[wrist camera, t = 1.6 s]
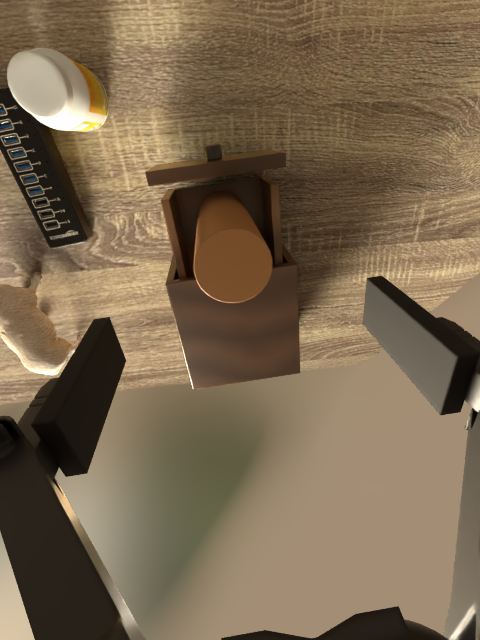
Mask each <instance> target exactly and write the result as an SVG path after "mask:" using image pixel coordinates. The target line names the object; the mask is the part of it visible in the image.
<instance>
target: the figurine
mask: <svg viewBox="0 0 480 640" xmlns="http://www.w3.org/2000/svg"><path fill="white" fill-rule="evenodd" d="M41 279H42V275H41V274H40V273H38V272H36V273H34V274H33V275H32V281H31V285H30V286H29V287H28V288H23V287H13V286H10V285H5V284H2V285H0V334H1V338H2V339H3V340H4V342H5V343H6V344H7V345H8V347H9V348H11V349H12V350H13V351H14V352H15V353H16V354H17V355H18V357H19V358H20V360H21V362H22V363H23V365H24V366H25V367H26V368H28V369H29V370H31V371H32V372H36V373H40V374H47V375H56V374H58V373H59V372H60V369H61V367H62V366H63V365H64V364H65V363H66V361H67V360H68V357H69V356H70V355H71V354H72V353H74V352H75V350H76V348H77V347H78V345H79V343H80V342H81V338H80V335H78V336H77V340H76V343H75V344H73V345H72V344H71V343H70V342H69V341H67V340H65V339H63V338H58V337H57V336H56V330H55V327H54V324H53V323H52V321H51V320H50V319H49V318H48V317H47V316H46V315H45V314H44V313H43V312H42V311H41V310H39V309H38V308H37V306H36V304H37V299H38V298H37V296H36V294H35V293H36V291H37V288H38V287H39V285H40V284H41V281H40V280H41Z"/></svg>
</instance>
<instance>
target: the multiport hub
mask: <svg viewBox="0 0 480 640" xmlns="http://www.w3.org/2000/svg"><path fill="white" fill-rule="evenodd" d="M0 150H1V152H2V154H3V156H4V158H5V160H6V162H7V164H8V166H9V168H10V170H11V172H12V174H13V176H14V178H15V180H16V182H17V184H18V186H19V188H20V190H21V192H22V194H23V196H24V198H25V200H26V202H27V204H28V206H29V208H30V210H31V212H32V214H33V216H34V218H35V220H36V222H37V224H38V226H39V228H40V230H41V232H42V234H43V235H44V237H45V239H46V241H47V243H48V245H49V247H50V248H53V249H54V248H59V247H65V246H70V245H75V244H80V243H85V242H86V241H87V240H89V239H90V238H91V237H92V236H93V232H92V229H91V227H90V225H89V222H88V220H87V217H86V215H85V213H84V210H83V208H82V205H81V203H80V201H79V198H78V196H77V193H76V191H75V189H74V186H73V184H72V182H71V179H70V177H69V174H68V172H67V170H66V167H65V165H64V162H63V160H62V158H61V155H60V153H59V150H58V148H57V146H56V143H55V141H54V138H53V136H52V134H51V131H50V129H49V127H48V126H46V125H44V124H43V123H41V122H40V121H38V120H37V119H36V118H35V117H34V116H33V115H32V114H30V113H29V112H27V111H26V110H25V109H24V108H23V107H22V106H21V105H20V104H19V103H18V102H17V101H16V99H15V98H14V96H13V95H12V93H11V90H10V88H4V89H0Z"/></svg>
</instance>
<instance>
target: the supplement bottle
mask: <svg viewBox="0 0 480 640" xmlns="http://www.w3.org/2000/svg"><path fill="white" fill-rule="evenodd" d="M7 80H8V85H9V88H10V90H11V93H12V95H13V96H14V98H15V99H16V101H17V102H18V103H19V104H20V105H21V106H22V107H23V108H24V109H25V110H26V111H27V112H29V113H30V114H32V115H33V116H34V117H35V118H36V119H37V120H38V121H40V122H41V123H43V124H44V125H46V126H48V127H51V128H54V129H58V130H66V131H93V130H96V129H98V128H99V127H101V126H102V125H103V123H104V122H105V120H106V118H107V115H108V111H109V104H108V97H107V94H106V91H105V88H104V86H103V84H102V83H101V81H100V80H99V79H98V77H97V76H96V75H95V74H94V73H93V72H91V71H90V70H88V69H87V68H86V67H84V66H82V65H81V64H79V63H77V62H75V61H74V60H72V59H70V58H69V57H67V56H65V55H64V54H62V53H60V52H58V51H56V50H53V49H50V48H35V49H32V50H24V51H20V52H18V53H16V54H15V55H14V56H13V57H12V58H11V60H10V61H9V64H8V67H7Z"/></svg>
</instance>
